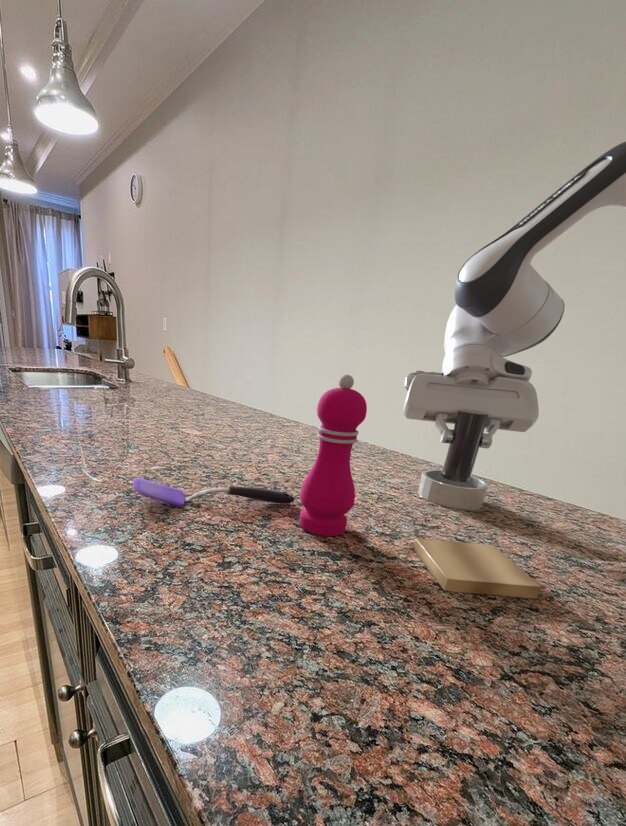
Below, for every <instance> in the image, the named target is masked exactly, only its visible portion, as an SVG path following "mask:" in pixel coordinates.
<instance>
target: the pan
mask: <svg viewBox="0 0 626 826" xmlns="http://www.w3.org/2000/svg"><path fill="white" fill-rule="evenodd" d="M442 471H443V469H426V470H424V471H422V472H421V476H420V479H419V483H418V487H417V494H418V496H419V497H421V498H422V499H424V500H425V501H428V502H430V503H433V504H436V505H438V506H442V507H447V508H452V509H458V510H478V509H480V508H482V507H483V506H484V502H485V499H486V495H487V493H488V490H489V484H488V482H486V481H485V480H483V479H482V478H479V477H476V476H474V475H471V478H470V481H469V482H456V481H451V480H448V479H445V478H443V477H442V476H441V475H442Z"/></svg>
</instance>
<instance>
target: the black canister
mask: <svg viewBox="0 0 626 826" xmlns="http://www.w3.org/2000/svg"><path fill="white" fill-rule="evenodd" d="M488 415H489V414H488V413H485V412H481V411H474V410H465V409H460V410H458V413H457V417H456V421H455V424H453V429H452V430H453V432H454V433H453V440H452V441H451V443H450V444H448V448H447V453H446V456H445V460H444V464H443V468H442V470H443V471H442V475H441V476H442V477H443V478H445V479H448V480H451V481H456V482H469V481H470V478H471V476H473V475H472V474H473V471H474V467H475V464H476V461H477V457H478V453H479V449H480V443H481V440H482V436H483V433H485V430H486V428H485V426H486V422H487V419H488Z"/></svg>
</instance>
